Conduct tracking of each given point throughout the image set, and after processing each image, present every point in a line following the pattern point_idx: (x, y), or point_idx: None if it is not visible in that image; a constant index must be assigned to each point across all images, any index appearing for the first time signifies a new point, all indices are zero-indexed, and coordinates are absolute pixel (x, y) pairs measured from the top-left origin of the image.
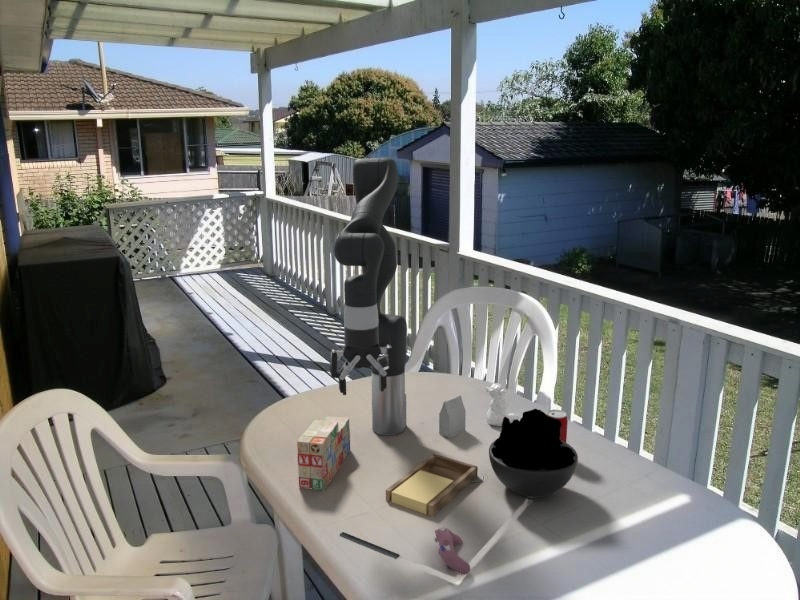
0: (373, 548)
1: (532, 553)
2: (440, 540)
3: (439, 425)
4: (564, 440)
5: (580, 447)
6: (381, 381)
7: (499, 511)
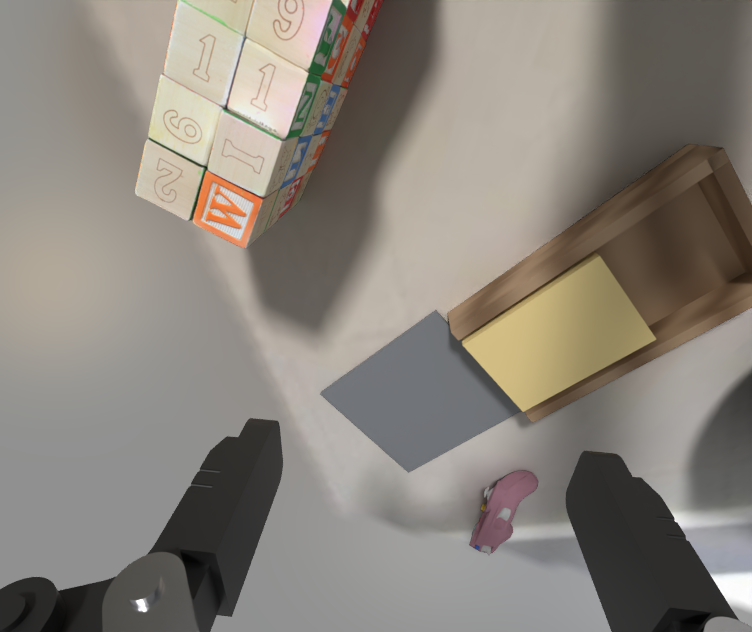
0: (376, 443)
1: None
2: (481, 541)
3: None
4: None
5: None
6: (609, 604)
7: (685, 408)
